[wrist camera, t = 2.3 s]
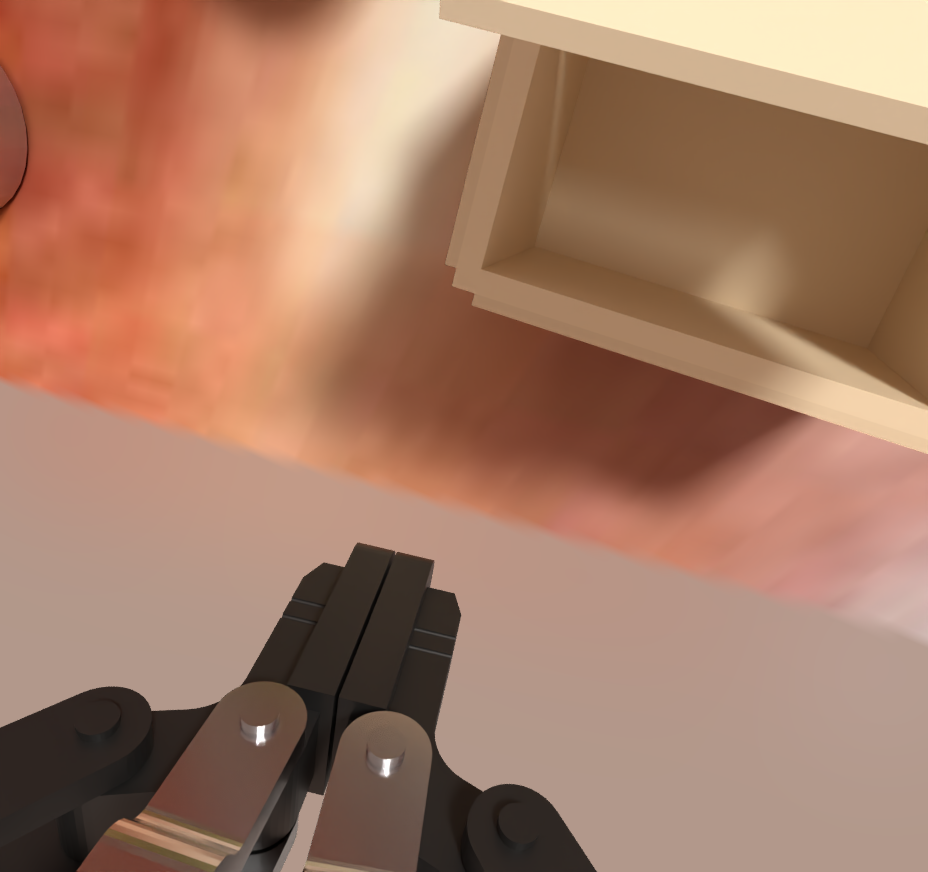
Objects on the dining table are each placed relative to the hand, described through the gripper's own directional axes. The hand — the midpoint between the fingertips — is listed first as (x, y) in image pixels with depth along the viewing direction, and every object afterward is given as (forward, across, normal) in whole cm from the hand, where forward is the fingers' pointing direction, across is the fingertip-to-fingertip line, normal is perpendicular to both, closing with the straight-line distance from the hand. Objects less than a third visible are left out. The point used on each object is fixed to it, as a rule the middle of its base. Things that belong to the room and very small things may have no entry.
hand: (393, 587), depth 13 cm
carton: (+21, +8, +7) cm, 24 cm away
